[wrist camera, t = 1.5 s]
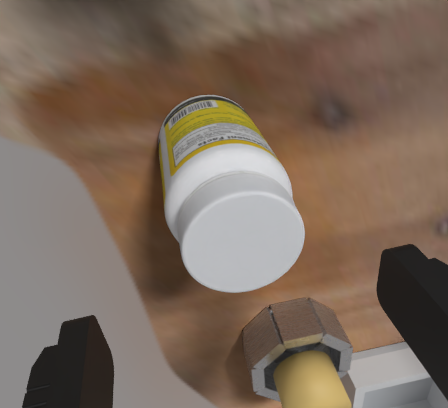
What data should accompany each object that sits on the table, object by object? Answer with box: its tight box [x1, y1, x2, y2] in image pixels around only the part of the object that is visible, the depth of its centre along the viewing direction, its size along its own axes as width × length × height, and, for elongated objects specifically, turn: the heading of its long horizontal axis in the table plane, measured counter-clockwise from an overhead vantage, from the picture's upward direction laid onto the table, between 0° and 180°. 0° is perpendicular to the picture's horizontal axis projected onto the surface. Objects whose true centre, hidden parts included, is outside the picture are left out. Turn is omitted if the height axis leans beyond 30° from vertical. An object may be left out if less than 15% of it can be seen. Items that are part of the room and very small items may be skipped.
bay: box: [340, 341, 448, 408], centre depth 33 cm, size 10×10×3 cm
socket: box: [242, 298, 353, 402], centre depth 27 cm, size 7×7×3 cm
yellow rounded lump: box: [273, 350, 351, 408], centre depth 25 cm, size 4×4×3 cm
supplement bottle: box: [158, 95, 305, 293], centre depth 16 cm, size 5×5×8 cm
